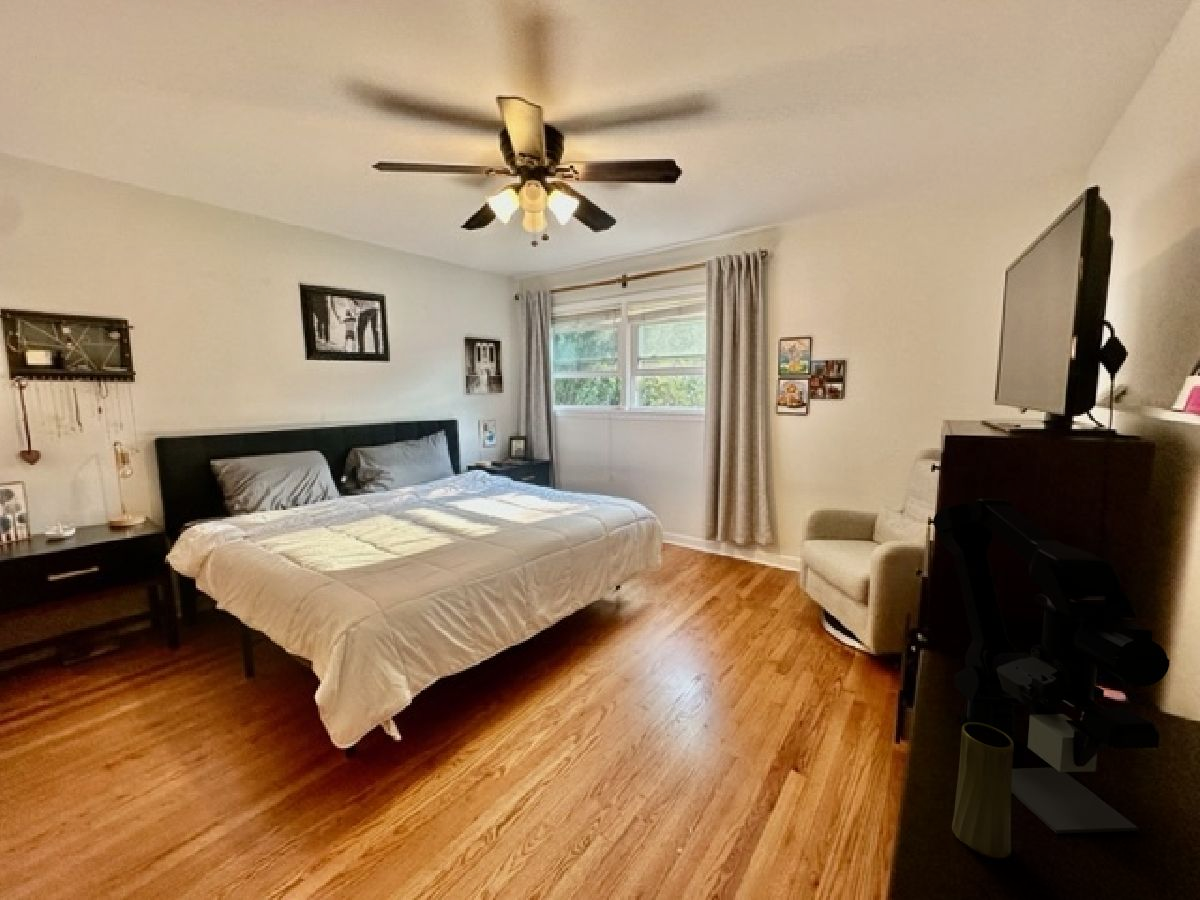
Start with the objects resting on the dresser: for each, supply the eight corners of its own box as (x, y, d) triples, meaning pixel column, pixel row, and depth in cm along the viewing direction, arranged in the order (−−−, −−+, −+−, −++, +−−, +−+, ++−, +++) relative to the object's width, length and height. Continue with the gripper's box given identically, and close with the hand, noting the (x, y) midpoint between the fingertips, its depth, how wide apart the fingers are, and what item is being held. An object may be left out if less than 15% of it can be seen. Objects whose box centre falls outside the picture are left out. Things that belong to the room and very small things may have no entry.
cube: (1027, 747, 73) (1030, 714, 73) (1060, 746, 73) (1063, 713, 73) (1059, 772, 68) (1062, 737, 68) (1095, 771, 68) (1098, 736, 68)
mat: (988, 772, 77) (988, 769, 76) (1058, 770, 77) (1058, 767, 77) (1056, 833, 66) (1056, 829, 66) (1137, 830, 66) (1137, 827, 66)
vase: (953, 812, 69) (959, 714, 68) (1011, 836, 65) (1018, 732, 64) (949, 842, 64) (955, 737, 63) (1011, 870, 60) (1019, 758, 59)
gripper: (961, 618, 78) (956, 712, 80) (1078, 684, 60) (1068, 806, 61) (1031, 616, 79) (1024, 711, 80) (1169, 682, 60) (1156, 803, 61)
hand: (1060, 751), depth 71 cm, fingers closed on cube, 5 cm apart
